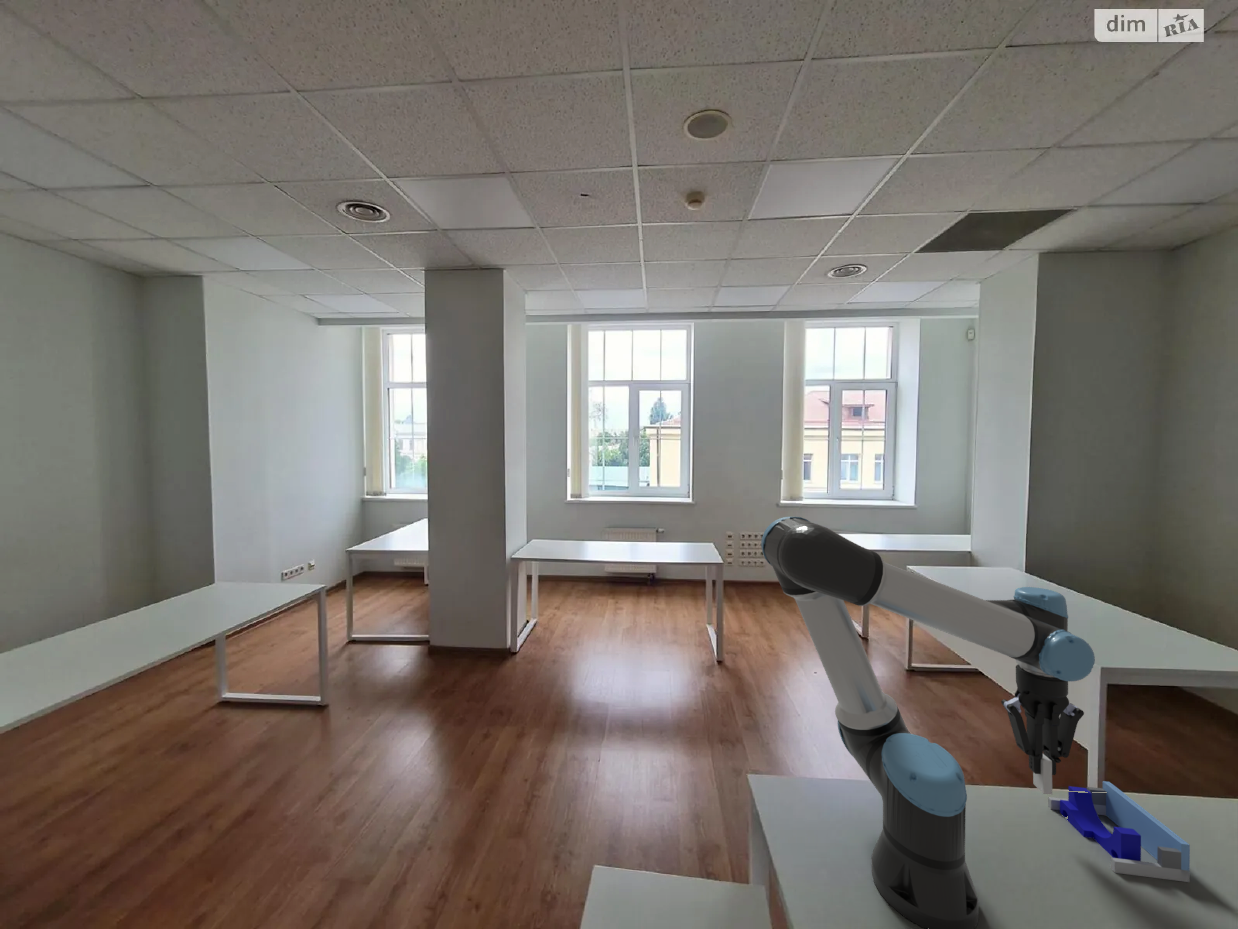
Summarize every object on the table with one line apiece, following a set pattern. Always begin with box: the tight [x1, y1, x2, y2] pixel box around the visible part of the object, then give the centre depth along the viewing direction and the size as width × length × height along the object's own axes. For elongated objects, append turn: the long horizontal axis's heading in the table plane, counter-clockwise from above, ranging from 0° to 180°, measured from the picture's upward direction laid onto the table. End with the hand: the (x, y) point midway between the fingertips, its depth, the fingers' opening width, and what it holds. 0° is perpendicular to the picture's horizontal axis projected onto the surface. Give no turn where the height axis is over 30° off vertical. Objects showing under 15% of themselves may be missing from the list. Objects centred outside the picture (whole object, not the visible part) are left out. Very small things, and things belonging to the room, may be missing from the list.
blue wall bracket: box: [1047, 780, 1191, 883], centre depth 87 cm, size 11×16×6 cm
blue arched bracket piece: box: [1059, 785, 1142, 861], centre depth 88 cm, size 12×4×6 cm, turn 170°
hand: (1042, 789), depth 89 cm, fingers closed
